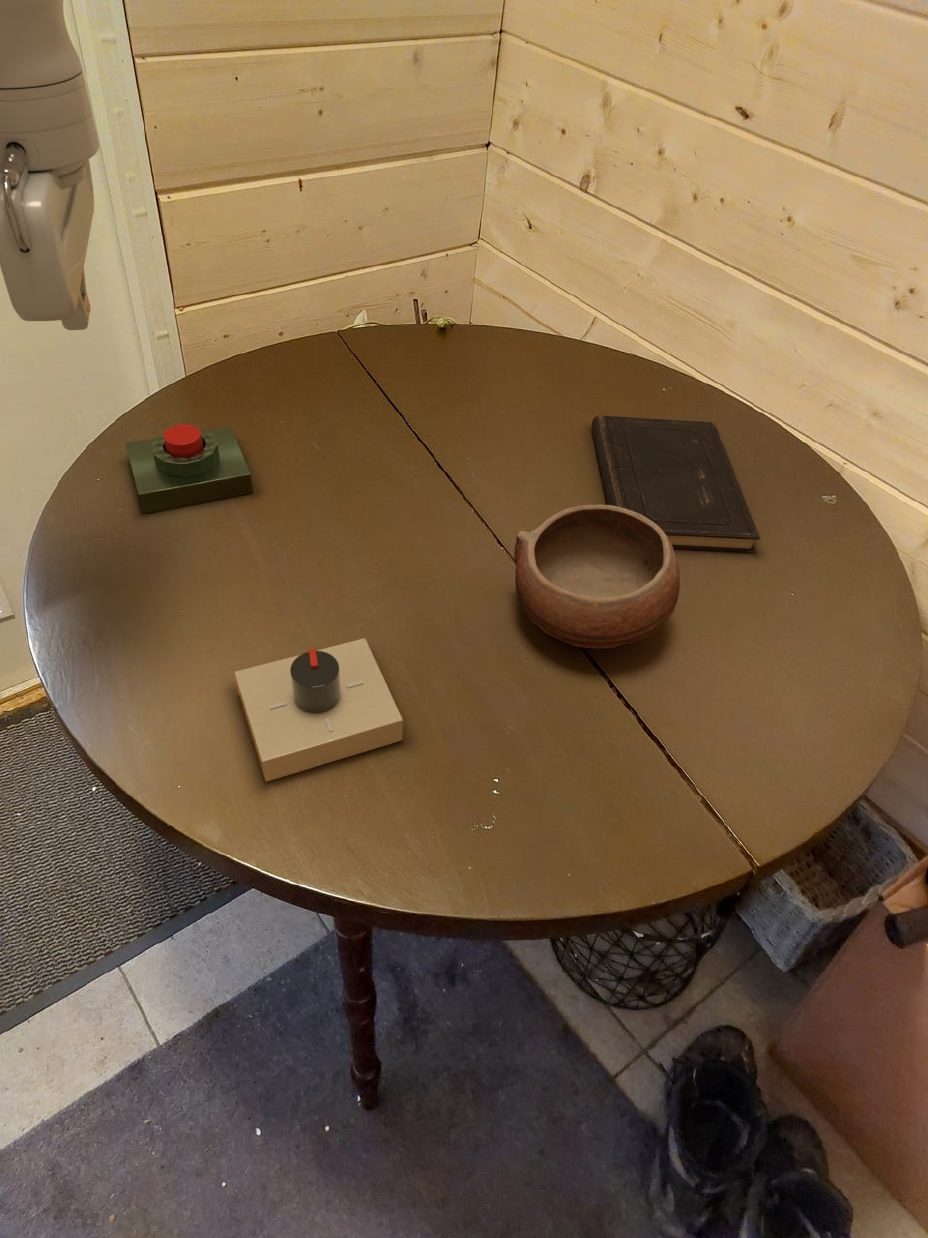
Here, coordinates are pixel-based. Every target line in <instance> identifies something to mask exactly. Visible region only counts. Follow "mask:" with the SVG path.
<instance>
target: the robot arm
mask: <svg viewBox="0 0 928 1238" xmlns="http://www.w3.org/2000/svg"><path fill="white" fill-rule="evenodd" d="M82 66H83V65H82V62H81V59H80V56H79V54H78V53H77V50H76V48H75V46H74V44H73V42H72V40H71V38H70V34H69V31H68V29H67V25H66V21H65V13H64V0H0V270H1V273H2V277H3V281H4V284H5V288H6V291H7V295H8V297H9V300H10V303H11V306H12V308H13V310H14V312H15V313H16V315H18V317H19V318H20V319H21V320H22V321H25V322H55V321H61V324H62V327H63V328H64V329H65V330H68V331H83V330H84V331H85V330H86V329H87V328H88V326H89V320H90V314H91V303H90V300H89V296H88V293H87V285H86V276H85V274H86V273H85V261H86V257H87V252H88V251H87V250H88V246H89V240H90V234H91V228H92V222H93V219H94V218H93V217H94V212H95V196H94V185H93V184H94V183H93V177H92V172H91V164H90V159H91V158H92V157H94V156H95V155H96V154H97V153H98V151H99V149H100V142H99V138H98V133H97V128H96V125H95V124H96V123H95V120H94V116H93V111H92V106H91V101H90V97H89V93H88V89H87V88H88V87H87V84H86V79H85V74H84V70H83V67H82Z"/></svg>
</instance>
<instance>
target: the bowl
mask: <svg viewBox="0 0 928 1238" xmlns="http://www.w3.org/2000/svg"><path fill="white" fill-rule="evenodd" d="M513 555H514V556H513V557H514V564H515V581H514V583H515V591H516V595H517V599H518V600H519V602H520V607H521V608H522V609H523V611H524V612H525V613H526V615H527V616H528V618H529V619H530V621H531V622H532V623H533V624H535V625H536V626H537V627H538V628H539V629H540V630H542V632H544V633H545V634H546V635H549V636H551V637H553V638H556V639H557V640H559V641H561V642H564V643H567V644H569V645H571V646H574V647H579V648H585V649H611V648H617V647H619V646H621V645H624V644H631V643H634V642H637V641H640V640H643V639H645V638H647V637H648V636H650V635H652V634H653V633H655V631H656V630H657V629H659V628H660V627H661V626H662V625H663V624H664V623H665V622H667V621H668V620H669V618H670V616H671V615H672V614H673V613H674V612H675V608H676V606H677V604H678V600H679V596H680V590H681V589H680V588H681V585H680V584H681V583H680V582H681V579H680V578H681V577H680V576H681V575H680V574H681V572H680V567H679V562H678V559H677V556H676V552H675V549H673V547H672V544H671V542H670V540H669V538H668V537H667V535H666V534H665V533H664V531H663V530H662V529H661V528H660V527H659V526H658V525H656V524H655V523H654V522H653V521H651V520H649V519H648V518H646V517H644V516H643V515H641V514H639V513H636V512H634V511H631V510H628V509H625V508H621V507H617V506H612V505H607V504H585V505H578V506H573V507H569V508H564V509H563V510H561V511H559V512H556V513H555V514H553V515H552V516H551V515H550V517H548V518H546V519H544V520H543V521H542V522H541V523H540V524H539V525H538V526H537V527H536V528H535V529H534V530H532V531H525V530H520V531H518V533H517V535H516V541H515V543H514V554H513Z"/></svg>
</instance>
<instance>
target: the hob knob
mask: <svg viewBox="0 0 928 1238" xmlns="http://www.w3.org/2000/svg"><path fill="white" fill-rule="evenodd" d="M299 655H300V656H298V655H297V656H298V657H297V658H296V659H295V660H294V661H293V663H292V665H291V668H290V673H291V681H292V689H293V698H294V701H295V703H296V705H297V706H298V707H299V708H300V709H302V710H304V711H306V712H309V713H322V712H326V711H328V710H330V709H332V708H333V707H334V706H335V705H336V704H337V703H338V701H339V699H340V696H341V690H340V673H339V664H338V662H337V660H336V659H335V658H334V657H333V656H332V655H330V654H329V653H326V652H323V651H317V650H316V648H308V651H306V652H304V653H302V654H299Z"/></svg>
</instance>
